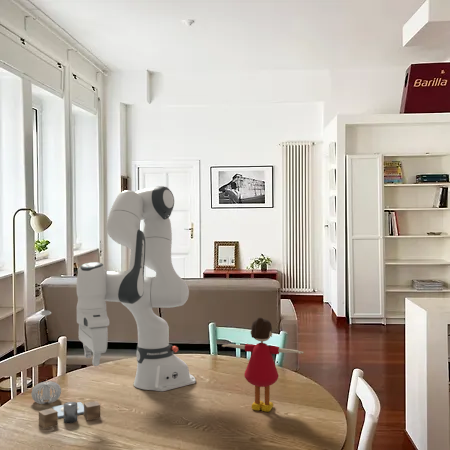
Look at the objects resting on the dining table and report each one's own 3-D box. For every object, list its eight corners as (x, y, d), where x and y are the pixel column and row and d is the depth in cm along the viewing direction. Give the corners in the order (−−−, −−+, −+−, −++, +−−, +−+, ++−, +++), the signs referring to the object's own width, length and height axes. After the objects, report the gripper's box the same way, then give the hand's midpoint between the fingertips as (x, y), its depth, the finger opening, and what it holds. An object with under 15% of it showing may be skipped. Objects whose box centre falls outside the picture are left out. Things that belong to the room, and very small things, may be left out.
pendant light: (52, 407, 171) (51, 314, 170) (25, 405, 172) (24, 313, 172) (66, 397, 180) (65, 309, 179) (41, 395, 182) (40, 308, 181)
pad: (80, 403, 174) (80, 401, 174) (87, 413, 166) (87, 410, 166) (52, 408, 170) (52, 406, 170) (58, 418, 162) (58, 416, 162)
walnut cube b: (51, 421, 160) (51, 408, 160) (57, 425, 157) (57, 411, 157) (38, 424, 157) (38, 411, 157) (44, 428, 154) (44, 415, 154)
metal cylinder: (75, 417, 163) (75, 401, 163) (78, 421, 159) (78, 405, 159) (62, 419, 161) (62, 403, 161) (65, 424, 157) (65, 407, 157)
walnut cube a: (96, 413, 166) (96, 400, 166) (100, 418, 162) (100, 405, 162) (84, 415, 164) (83, 403, 164) (87, 420, 161) (87, 407, 160)
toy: (305, 409, 169) (306, 315, 169) (299, 422, 159) (299, 322, 158) (226, 399, 178) (227, 310, 177) (215, 411, 168) (215, 316, 167)
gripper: (73, 311, 170) (73, 354, 170) (89, 323, 152) (89, 371, 152) (93, 309, 173) (93, 351, 173) (111, 321, 155) (111, 368, 155)
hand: (91, 361), depth 163 cm, fingers open, 8 cm apart
